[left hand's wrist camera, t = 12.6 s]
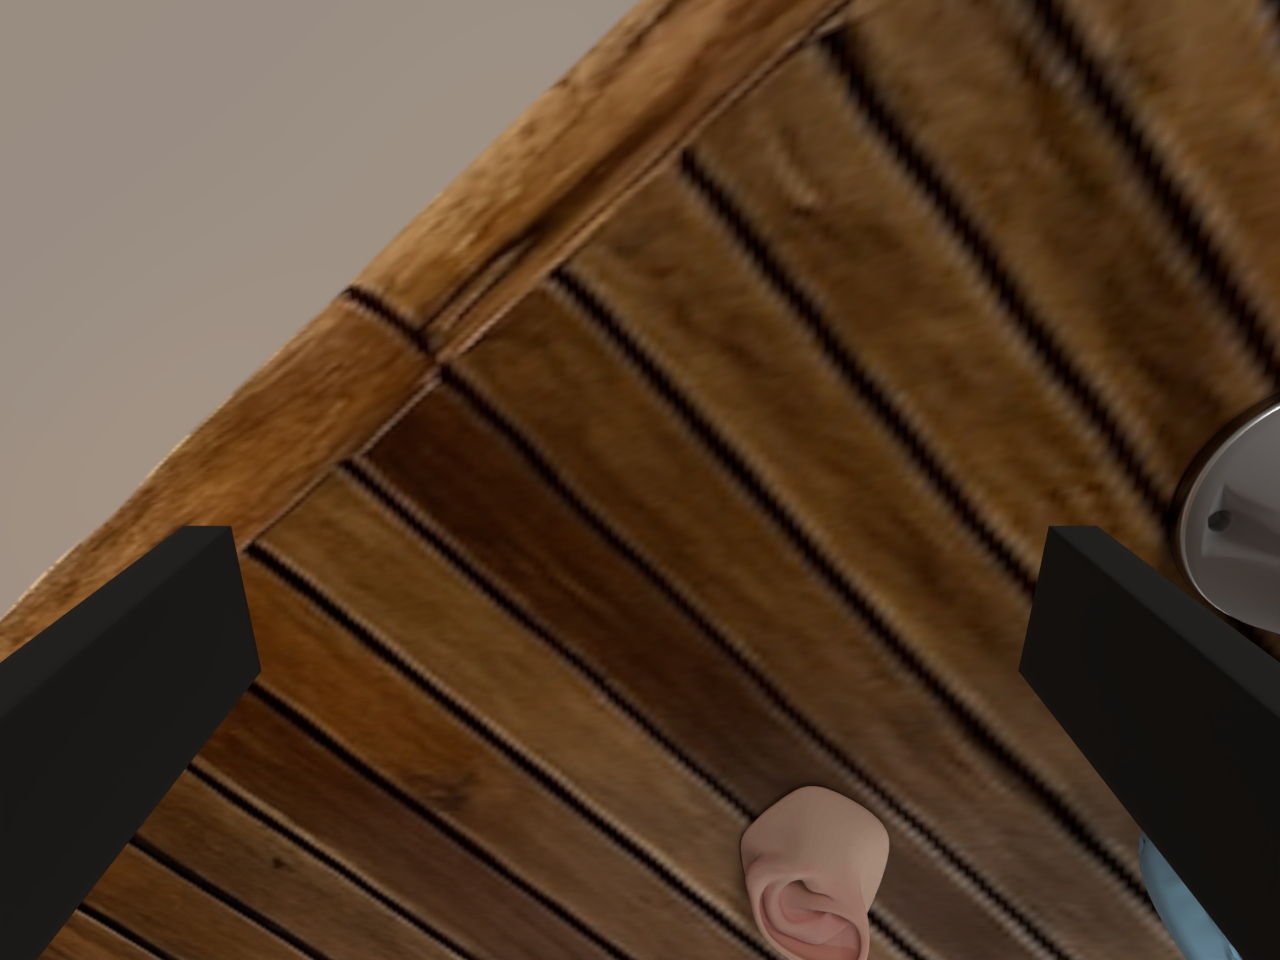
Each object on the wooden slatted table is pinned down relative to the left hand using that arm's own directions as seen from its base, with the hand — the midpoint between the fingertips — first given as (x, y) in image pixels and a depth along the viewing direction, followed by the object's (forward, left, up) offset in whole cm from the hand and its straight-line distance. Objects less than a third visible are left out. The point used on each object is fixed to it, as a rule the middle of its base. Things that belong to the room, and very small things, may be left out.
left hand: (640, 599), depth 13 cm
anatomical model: (-37, +19, -31) cm, 52 cm away
